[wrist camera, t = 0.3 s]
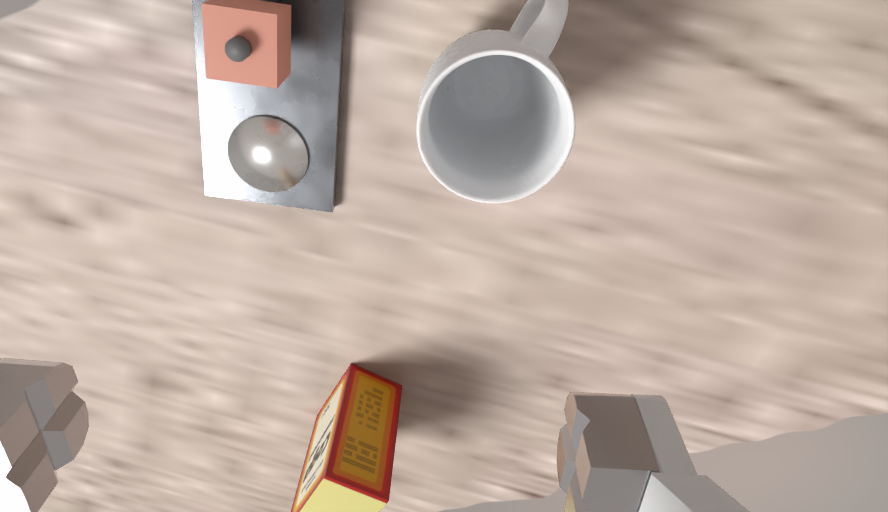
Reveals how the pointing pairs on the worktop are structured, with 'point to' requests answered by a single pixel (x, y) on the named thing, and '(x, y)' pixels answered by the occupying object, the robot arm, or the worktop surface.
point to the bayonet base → (277, 118)
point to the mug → (499, 109)
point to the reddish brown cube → (247, 41)
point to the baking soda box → (351, 447)
